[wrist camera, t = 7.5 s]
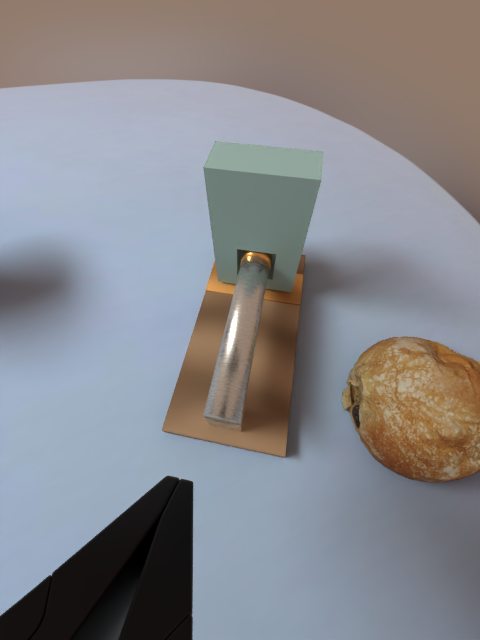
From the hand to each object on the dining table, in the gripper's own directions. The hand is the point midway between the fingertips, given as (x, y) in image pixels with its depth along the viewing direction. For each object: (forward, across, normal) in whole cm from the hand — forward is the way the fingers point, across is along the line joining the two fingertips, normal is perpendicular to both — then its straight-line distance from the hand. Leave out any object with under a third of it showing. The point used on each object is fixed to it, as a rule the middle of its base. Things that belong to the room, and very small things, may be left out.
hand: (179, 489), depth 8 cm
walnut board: (+17, 0, 0) cm, 17 cm away
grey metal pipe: (+17, 0, -1) cm, 17 cm away
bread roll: (+15, -14, +3) cm, 20 cm away
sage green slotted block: (+20, 0, -5) cm, 21 cm away
